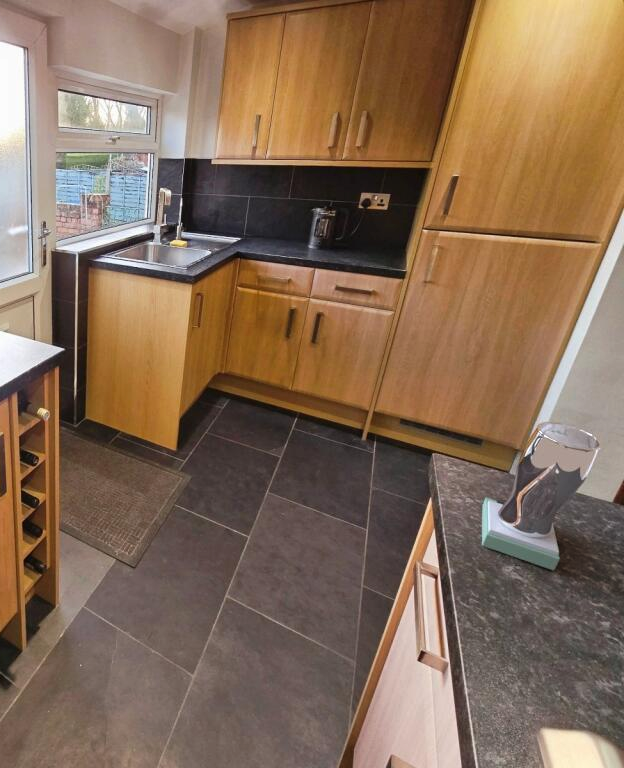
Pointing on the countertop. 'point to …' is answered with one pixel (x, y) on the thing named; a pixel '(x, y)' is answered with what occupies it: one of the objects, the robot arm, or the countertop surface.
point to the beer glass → (548, 476)
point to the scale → (517, 539)
